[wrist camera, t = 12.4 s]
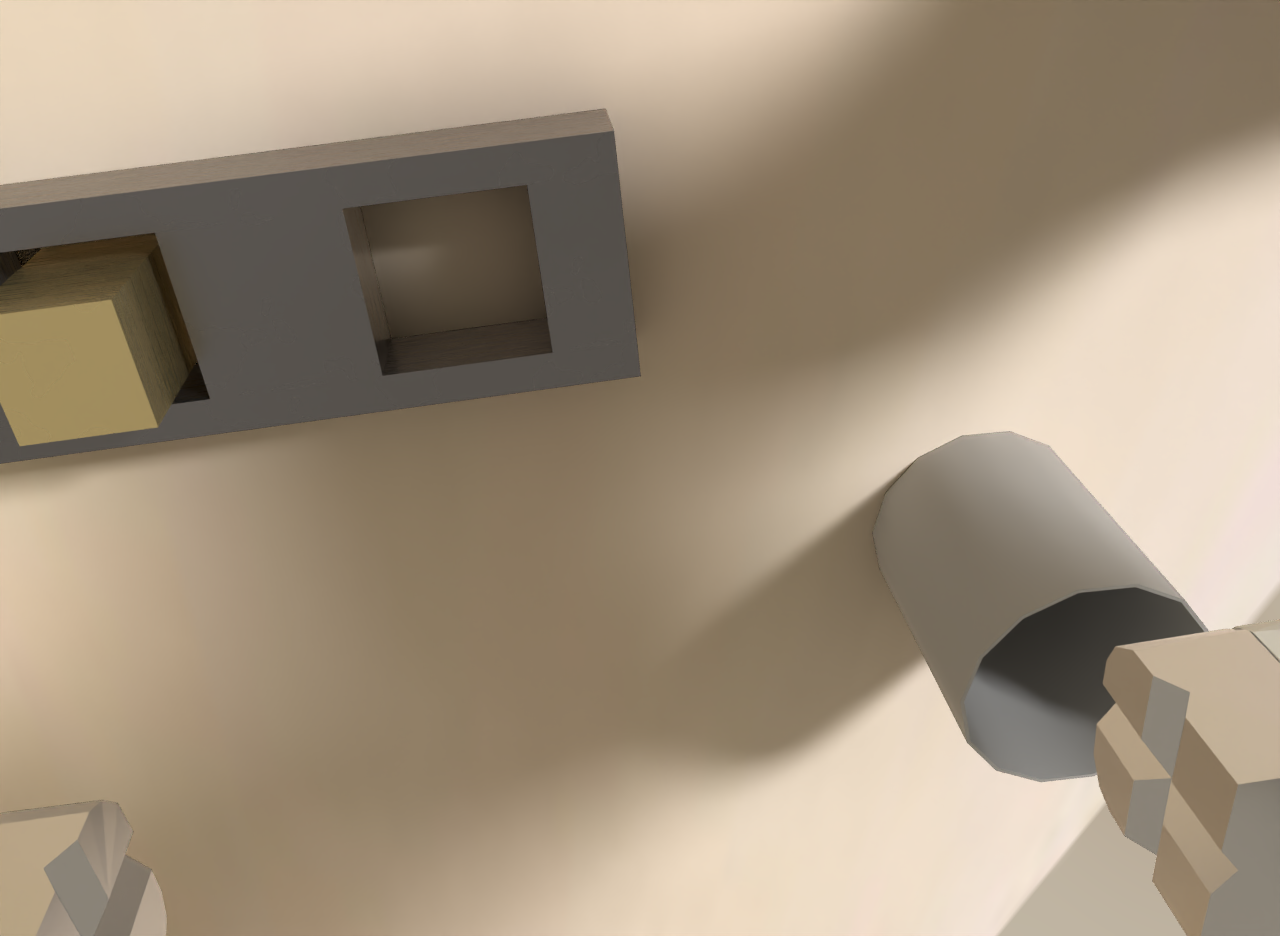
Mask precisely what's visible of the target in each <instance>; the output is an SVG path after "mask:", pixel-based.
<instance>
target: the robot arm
mask: <svg viewBox="0 0 1280 936" xmlns="http://www.w3.org/2000/svg"><path fill="white" fill-rule="evenodd" d="M1103 685H1104V686H1105V688H1106V689H1107V691H1108V692H1109V694H1110V695H1111V696H1112V698H1113V699H1114V701H1115V702H1116V703H1115V704H1114V705H1113V707H1112V708H1111V709H1110V710H1109V711H1108V712H1107V713H1106V714H1105V715H1104V716H1103V718H1102V719H1101V720H1100V721H1099V722H1098V723H1097V725H1096V735H1095V745H1094V760H1095V765H1096V771H1097V776H1098V782H1099V787H1100V789H1101V792H1102V794H1103V797H1104V799H1105V801H1106V804H1107V806H1108V809H1109V811H1110V813H1111V815H1112V816H1113V818H1114V819H1115V821H1116V823H1117V825H1118V826H1119V828H1120V830H1121V831H1122V833H1123V835H1124V836H1125V837H1127V838H1129V839H1130V840H1132V841H1134V842H1135V843H1137V844H1139V845H1140V846H1142V847H1144V848H1146V849H1147V850H1149V851H1151V852H1152V853H1154V854H1156V855H1157V857H1156V863H1155V868H1154V873H1153V879H1152V881H1153V883H1154V884H1155V886H1156V887H1157V889H1158V891H1159V892H1160V894H1161V895H1162V897H1163V898H1164V900H1165V902H1166V903H1167V905H1168V907H1169V908H1170V910H1171V911H1172V913H1173V914H1174V916H1175V918H1176V919H1177V921H1178V922H1179V924H1180V925H1181V927H1182V929H1183V930H1184V932H1185V933H1186V935H1187V936H1280V619H1279V620H1273V621H1267V622H1260V623H1254V624H1248V625H1242V626H1236V627H1234V628H1233V629H1221V630H1215V631H1208V632H1202V633H1196V634H1190V635H1183V636H1177V637H1171V638H1165V639H1158V640H1152V641H1146V642H1140V643H1133V644H1127V645H1121V646H1115V648H1114V649H1113V651H1112V653H1111V654H1110V656H1109V657H1108V659H1107V661H1106V667H1105V673H1104V679H1103ZM132 834H133V830H132V828H131V826H130V824H129V822H128V821H127V819H126V817H125V815H124V813H123V812H122V810H121V808H120V806H119V804H118V803H116V802H110V801H105V800H98V801H90V802H83V803H75V804H67V805H59V806H51V807H43V808H35V809H27V810H20V811H12V812H4V813H0V936H166V928H167V915H166V910H165V905H164V900H163V896H162V891H161V888H160V886H159V884H158V882H157V880H156V878H155V875H154V873H153V871H152V869H150V868H148V867H146V866H145V865H143V864H141V863H139V862H138V861H136V860H134V859H132V858H131V857H129V856H127V855H125V853H126V851H127V848H128V845H129V842H130V840H131V837H132Z"/></svg>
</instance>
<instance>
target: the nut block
mask: <svg viewBox="0 0 1280 936" xmlns="http://www.w3.org/2000/svg"><path fill="white" fill-rule="evenodd" d="M196 361H197V358H196V355H195V352H194V349H193V346H192V343H191V340H190V337H189V334H188V331H187V328H186V325H185V322H184V319H183V316H182V313H181V310H180V307H179V304H178V301H177V298H176V295H175V292H174V289H173V286H172V283H171V280H170V277H169V274H168V271H167V268H166V265H165V262H164V259H163V256H162V253H161V250H160V247H159V244H158V241H157V238H156V235H155V234H147V235H140V236H132V237H124V238H116V239H109V240H101V241H93V242H85V243H78V244H70V245H62V246H54V247H47V248H42V249H41V250H40V251H39V252H37V253H36V254H35V255H34V256H33V257H32V258H31V259H30V260H29V261H27V262H26V263H25V264H24V265H23V266H22V267H21V268H20V269H19V270H17V271H16V272H15V273H14V274H13V275H12V276H11V277H10V278H9V279H7V280H6V281H5V282H4V283H3V284H2V285H1V286H0V403H1V406H2V408H3V410H4V412H5V415H6V417H7V419H8V421H9V424H10V426H11V428H12V430H13V433H14V435H15V437H16V439H17V442H18V444H19V446H26V445H33V444H40V443H48V442H55V441H62V440H70V439H77V438H84V437H91V436H99V435H106V434H113V433H121V432H128V431H135V430H143V429H150V428H157V427H159V425H160V423H161V422H162V420H163V418H164V416H165V415H166V413H167V411H168V409H169V408H170V406H171V404H172V403H173V401H174V399H175V397H176V396H177V394H178V392H179V391H180V389H181V387H182V385H183V384H184V382H185V380H186V379H187V377H188V375H189V373H190V372H191V370H192V368H193V366H194V365H195V363H196Z"/></svg>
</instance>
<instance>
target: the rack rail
mask: <svg viewBox="0 0 1280 936" xmlns="http://www.w3.org/2000/svg"><path fill="white" fill-rule="evenodd" d="M522 185H527V188H528V194H529V201H530V207H531V214H532V220H533V227H534V234H535V240H536V247H537V253H538V260H539V266H540V273H541V279H542V286H543V293H544V299H545V306H546V312H547V318H543V319H536V320H528V321H521V322H513V323H506V324H498V325H491V326H483V327H476V328H469V329H461V330H454V331H446V332H439V333H431V334H424V335H416V336H409V337H401V338H394V339H391V337H390V333H389V328H388V324H387V320H386V315H385V311H384V307H383V302H382V298H381V294H380V290H379V285H378V281H377V277H376V272H375V268H374V264H373V260H372V255H371V251H370V247H369V242H368V238H367V234H366V230H365V225H364V221H363V217H362V212H361V208H360V206H367V205H374V204H382V203H390V202H398V201H405V200H413V199H421V198H429V197H437V196H444V195H452V194H460V193H468V192H475V191H483V190H491V189H499V188H506V187H514V186H522ZM149 233H155V235H156V238H157V241H158V244H159V247H160V250H161V253H162V256H163V259H164V262H165V265H166V268H167V271H168V274H169V277H170V280H171V283H172V286H173V289H174V292H175V295H176V298H177V301H178V304H179V307H180V310H181V313H182V316H183V319H184V322H185V325H186V328H187V331H188V334H189V337H190V340H191V343H192V346H193V349H194V352H195V355H196V358H197V361H198V364H199V365H194V366H193V368H192V370H191V372H190V373H189V375H188V377H187V379H186V380H185V382H184V384H183V385H182V387H181V389H180V391H179V392H178V394H177V396H176V397H175V399H174V401H173V403H172V404H171V406H170V408H169V409H168V411H167V413H166V415H165V416H164V418H163V420H162V422H161V423H160V425H159V427H157V428H150V429H143V430H135V431H128V432H121V433H113V434H106V435H99V436H91V437H84V438H77V439H70V440H62V441H55V442H48V443H40V444H33V445H26V446H19V444H18V442H17V439H16V437H15V435H14V433H13V430H12V428H11V426H10V424H9V421H8V419H7V417H6V415H5V412H4V410H3V408H2V406H1V403H0V464H1V463H9V462H16V461H23V460H31V459H38V458H45V457H53V456H60V455H67V454H74V453H82V452H89V451H96V450H104V449H111V448H118V447H126V446H133V445H140V444H148V443H155V442H162V441H170V440H177V439H184V438H191V437H199V436H206V435H213V434H221V433H228V432H235V431H243V430H250V429H257V428H265V427H272V426H279V425H287V424H294V423H301V422H308V421H316V420H323V419H330V418H338V417H345V416H352V415H360V414H367V413H374V412H382V411H389V410H396V409H404V408H411V407H418V406H426V405H433V404H440V403H447V402H455V401H462V400H469V399H477V398H484V397H491V396H499V395H506V394H513V393H521V392H528V391H535V390H543V389H550V388H557V387H564V386H572V385H579V384H586V383H594V382H601V381H608V380H616V379H623V378H630V377H638V376H641V375H640V365H639V356H638V347H637V338H636V329H635V320H634V311H633V301H632V292H631V283H630V274H629V265H628V256H627V246H626V237H625V228H624V219H623V210H622V201H621V192H620V182H619V173H618V164H617V155H616V146H615V137H614V130H613V127H612V124H611V122H610V119H609V116H608V114H607V111H606V109H600V110H592V111H584V112H576V113H568V114H560V115H552V116H544V117H536V118H528V119H521V120H513V121H505V122H497V123H489V124H481V125H473V126H465V127H457V128H449V129H441V130H433V131H425V132H418V133H410V134H402V135H394V136H386V137H378V138H370V139H362V140H354V141H346V142H338V143H330V144H322V145H314V146H307V147H299V148H291V149H283V150H275V151H267V152H259V153H251V154H243V155H235V156H227V157H219V158H211V159H203V160H196V161H188V162H180V163H172V164H164V165H156V166H148V167H140V168H132V169H124V170H116V171H108V172H100V173H92V174H85V175H77V176H69V177H61V178H53V179H45V180H37V181H29V182H21V183H13V184H5V185H0V286H1V285H2V284H3V283H4V282H5V281H6V280H7V279H9V278H10V277H11V276H12V275H13V274H14V273H15V272H16V271H17V270H19V269H20V268H21V264H20V262H19V259H18V257H17V254H16V252H15V251H17V250H25V249H32V248H40V247H48V246H56V245H64V244H71V243H79V242H87V241H95V240H102V239H110V238H118V237H126V236H133V235H141V234H149Z"/></svg>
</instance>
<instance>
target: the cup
mask: <svg viewBox="0 0 1280 936" xmlns="http://www.w3.org/2000/svg"><path fill="white" fill-rule="evenodd" d="M872 534H873V539H874V544H875V549H876V554H877V559H878V564H879V569H880V571H881V573H882V575H883V577H884V579H885V581H886V583H887V585H888V587H889V589H890V591H891V593H892V595H893V597H894V599H895V601H896V603H897V605H898V607H899V608H900V610H901V612H902V614H903V616H904V618H905V620H906V622H907V624H908V626H909V628H910V630H911V632H912V634H913V636H914V638H915V640H916V642H917V644H918V646H919V648H920V650H921V652H922V654H923V656H924V658H925V660H926V662H927V664H928V666H929V668H930V670H931V672H932V674H933V676H934V678H935V680H936V682H937V684H938V686H939V688H940V690H941V692H942V694H943V696H944V698H945V700H946V702H947V704H948V706H949V708H950V710H951V712H952V714H953V716H954V718H955V720H956V722H957V724H958V726H959V728H960V730H961V732H962V734H963V736H964V737H965V739H966V741H967V743H968V744H969V745H970V746H971V747H972V748H973V749H974V750H975V751H976V752H977V753H978V754H979V755H981V756H982V757H983V758H984V759H985V760H986V761H987V762H988V763H989V764H990V765H991V766H992V767H993V768H994V769H995V770H996V771H1000V772H1004V773H1008V774H1012V775H1015V776H1019V777H1023V778H1027V779H1031V780H1034V781H1038V782H1046V781H1055V780H1064V779H1073V778H1082V777H1091V776H1095V775H1097V771H1096V765H1095V760H1094V745H1095V735H1096V725H1097V723H1098V722H1099V721H1100V720H1101V719H1102V718H1103V716H1104V715H1105V714H1106V713H1107V712H1108V711H1109V710H1110V709H1111V708H1112V707H1113V705H1114V704H1115V703H1116V702H1115V701H1114V699H1113V698H1112V696H1111V695H1110V694H1109V692H1108V691H1107V689H1106V688H1105V686H1104V685H1103V679H1104V673H1105V667H1106V661H1107V659H1108V657H1109V656H1110V654H1111V653H1112V651H1113V649H1114V648H1115V646H1121V645H1127V644H1133V643H1140V642H1146V641H1152V640H1158V639H1165V638H1171V637H1177V636H1183V635H1190V634H1196V633H1202V632H1208V629H1207V628H1206V627H1205V625H1204V624H1203V623H1202V622H1201V620H1200V619H1199V618H1198V616H1197V615H1196V614H1195V613H1194V611H1193V610H1192V609H1191V607H1190V606H1189V605H1188V603H1187V602H1186V601H1185V600H1184V598H1183V597H1182V596H1181V595H1180V594H1179V593H1178V592H1177V591H1176V589H1175V588H1174V587H1173V586H1172V585H1171V584H1170V583H1169V581H1168V580H1167V579H1166V578H1165V577H1164V576H1163V575H1162V573H1161V572H1160V571H1159V570H1158V569H1157V568H1156V567H1155V566H1154V564H1153V563H1152V562H1151V561H1150V560H1149V559H1148V558H1147V556H1146V555H1145V554H1144V553H1143V552H1142V551H1141V550H1140V549H1139V547H1138V546H1137V545H1136V544H1135V543H1134V542H1133V541H1132V539H1131V538H1130V537H1129V536H1128V535H1127V534H1126V533H1125V532H1124V530H1123V529H1122V528H1121V527H1120V526H1119V525H1118V524H1117V522H1116V521H1115V520H1114V519H1113V518H1112V517H1111V516H1110V514H1109V513H1108V512H1107V511H1106V510H1105V509H1104V508H1103V507H1102V505H1101V504H1100V503H1099V502H1098V501H1097V500H1096V499H1095V497H1094V496H1093V495H1092V494H1091V493H1090V492H1089V491H1088V490H1087V488H1086V487H1085V486H1084V485H1083V484H1082V483H1081V482H1080V480H1079V479H1078V478H1077V477H1076V476H1075V475H1074V474H1073V473H1072V471H1071V470H1070V469H1069V468H1068V467H1067V466H1066V465H1065V463H1064V462H1063V461H1062V460H1061V459H1060V458H1059V457H1058V455H1057V454H1056V453H1055V452H1054V451H1053V450H1052V449H1051V448H1050V446H1048V445H1045V444H1043V443H1040V442H1037V441H1034V440H1032V439H1029V438H1026V437H1024V436H1021V435H1018V434H1015V433H1013V432H1010V431H1009V432H998V433H987V434H976V435H965V436H961V437H959V438H957V439H955V440H953V441H951V442H949V443H947V444H945V445H943V446H941V447H939V448H937V449H935V450H933V451H931V452H929V453H927V454H925V455H923V456H921V457H919V458H917V459H916V460H915V461H914V463H913V464H912V465H911V466H910V467H909V468H908V469H907V470H906V471H905V472H904V473H903V474H902V476H901V477H900V478H899V479H898V480H897V481H896V482H895V483H894V484H893V485H892V486H891V488H890V489H889V490H888V491H887V492H886V493H885V496H884V499H883V502H882V505H881V508H880V511H879V514H878V517H877V520H876V523H875V526H874V529H873V532H872Z"/></svg>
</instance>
